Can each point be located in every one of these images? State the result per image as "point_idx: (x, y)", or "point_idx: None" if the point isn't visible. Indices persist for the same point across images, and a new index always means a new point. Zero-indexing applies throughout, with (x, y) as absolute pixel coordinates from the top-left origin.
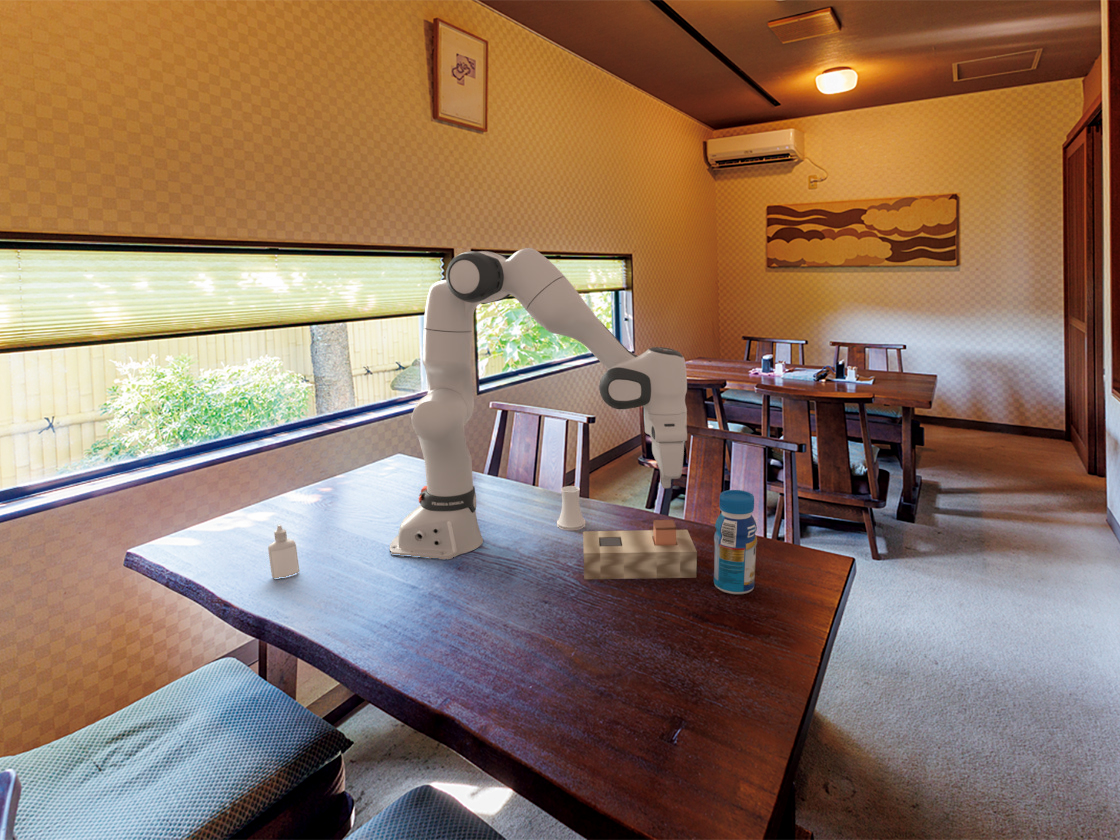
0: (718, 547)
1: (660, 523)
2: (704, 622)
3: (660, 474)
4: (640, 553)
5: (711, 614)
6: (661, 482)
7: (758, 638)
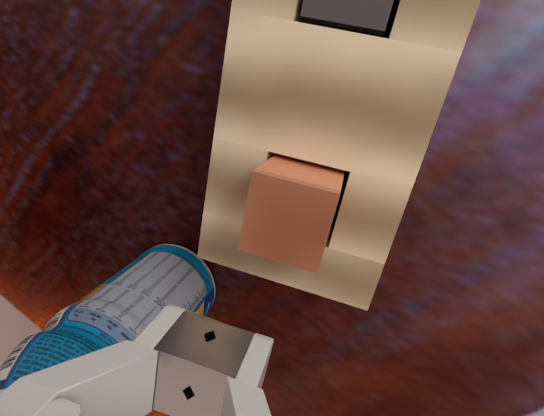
0: (94, 297)
1: (291, 207)
2: (50, 156)
3: (246, 402)
4: (222, 78)
5: (77, 183)
6: (215, 335)
7: (8, 221)
